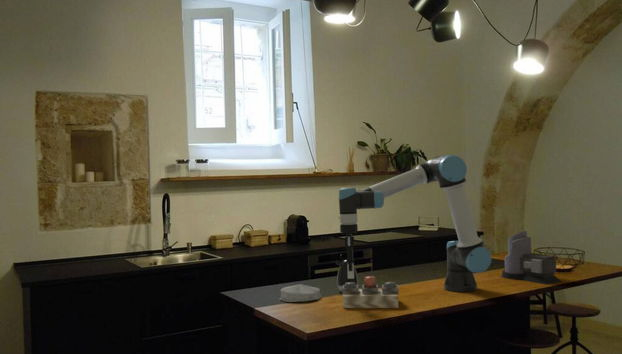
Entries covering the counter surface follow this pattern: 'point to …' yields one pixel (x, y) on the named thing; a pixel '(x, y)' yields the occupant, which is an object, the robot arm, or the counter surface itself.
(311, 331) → the counter surface
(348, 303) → the console
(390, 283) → the cap
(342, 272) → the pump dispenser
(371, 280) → the middle cap
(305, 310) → the counter surface
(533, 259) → the juicer
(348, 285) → the cap
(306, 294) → the food container
